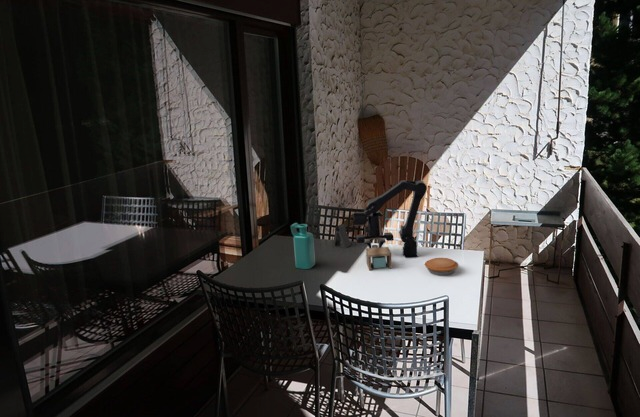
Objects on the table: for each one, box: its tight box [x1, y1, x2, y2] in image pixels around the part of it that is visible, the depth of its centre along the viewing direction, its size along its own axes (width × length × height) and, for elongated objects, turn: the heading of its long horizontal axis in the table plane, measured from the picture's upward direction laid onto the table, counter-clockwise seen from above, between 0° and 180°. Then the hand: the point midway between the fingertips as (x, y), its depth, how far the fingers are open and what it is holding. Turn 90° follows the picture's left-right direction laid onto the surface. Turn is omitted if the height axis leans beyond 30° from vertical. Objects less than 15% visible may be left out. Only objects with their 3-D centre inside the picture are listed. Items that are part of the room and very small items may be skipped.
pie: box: [423, 257, 459, 276], centre depth 244 cm, size 16×16×5 cm
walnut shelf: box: [365, 246, 393, 271], centre depth 255 cm, size 11×10×8 cm
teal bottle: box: [289, 222, 316, 270], centre depth 260 cm, size 10×8×22 cm
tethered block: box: [371, 244, 387, 269], centre depth 261 cm, size 6×18×6 cm, turn 1°
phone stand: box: [331, 223, 352, 249], centre depth 289 cm, size 9×6×12 cm, turn 55°
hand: (375, 253), depth 268 cm, fingers open, 3 cm apart
